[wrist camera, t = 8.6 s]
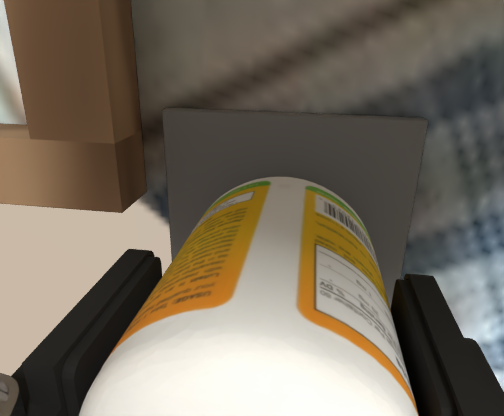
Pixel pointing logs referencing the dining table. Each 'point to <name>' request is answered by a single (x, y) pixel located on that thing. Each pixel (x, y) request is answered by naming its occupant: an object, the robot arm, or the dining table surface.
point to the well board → (74, 107)
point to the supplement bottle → (263, 318)
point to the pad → (298, 166)
